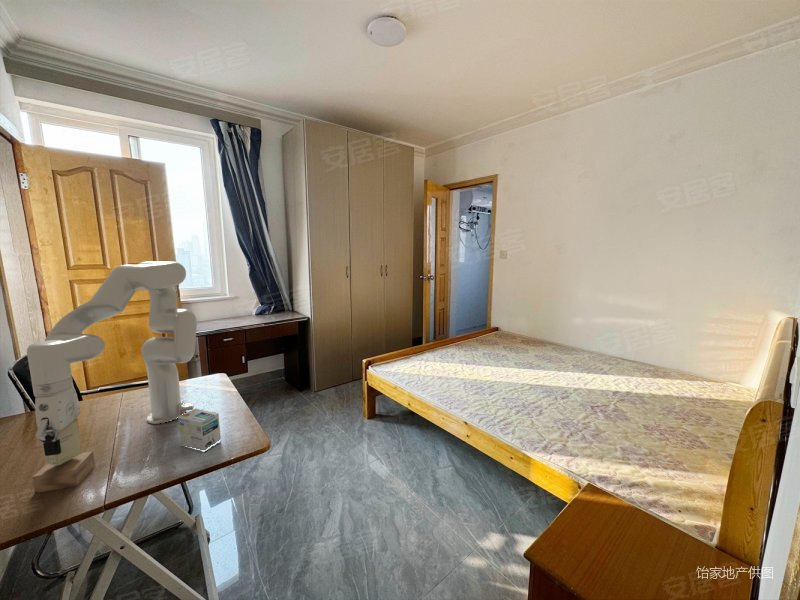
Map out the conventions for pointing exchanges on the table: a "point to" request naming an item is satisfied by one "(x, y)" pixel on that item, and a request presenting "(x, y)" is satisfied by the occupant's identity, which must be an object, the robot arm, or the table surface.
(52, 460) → the skincare box
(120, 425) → the table surface
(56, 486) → the tan flat block
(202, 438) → the light bulb box
